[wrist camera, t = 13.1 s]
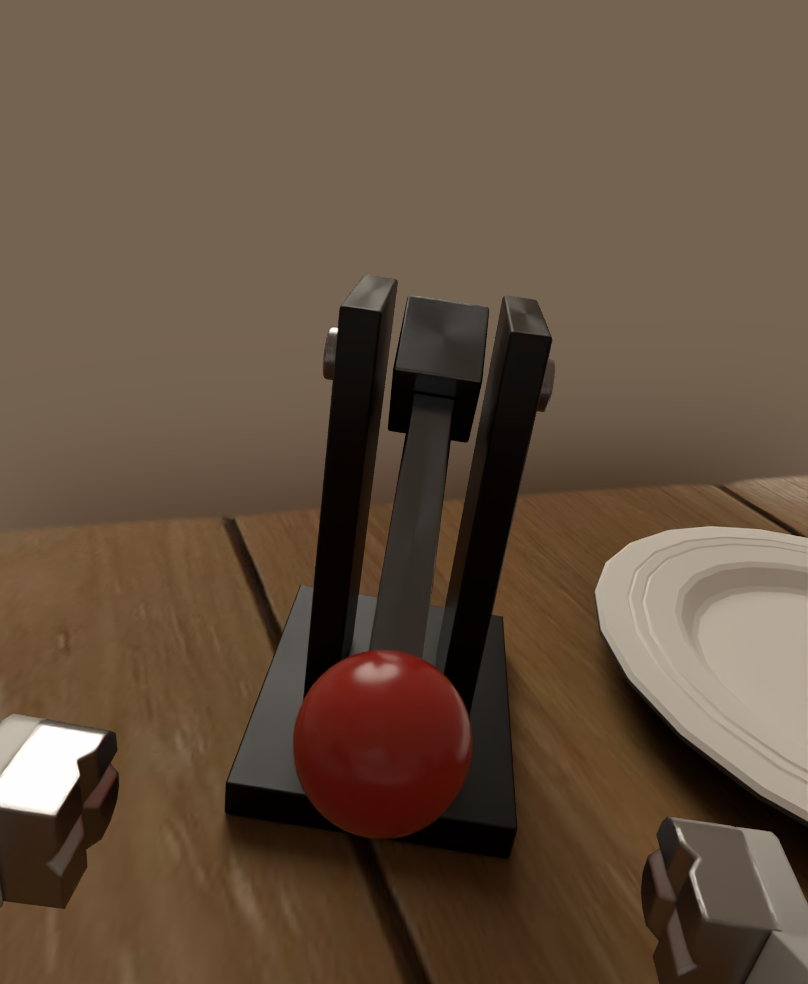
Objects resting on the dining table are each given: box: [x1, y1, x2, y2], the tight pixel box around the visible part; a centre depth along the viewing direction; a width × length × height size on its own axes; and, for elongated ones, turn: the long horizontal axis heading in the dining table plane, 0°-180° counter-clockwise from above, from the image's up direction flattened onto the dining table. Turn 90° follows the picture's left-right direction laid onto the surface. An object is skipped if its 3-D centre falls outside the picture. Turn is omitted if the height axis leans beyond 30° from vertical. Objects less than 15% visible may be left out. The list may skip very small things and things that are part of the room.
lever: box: [293, 296, 489, 839], centre depth 17 cm, size 13×3×3 cm, turn 175°
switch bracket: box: [225, 275, 555, 859], centre depth 22 cm, size 10×8×14 cm
